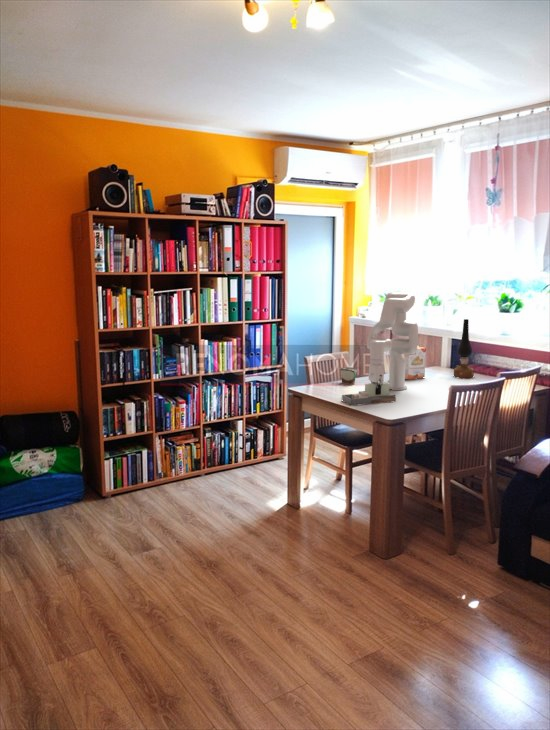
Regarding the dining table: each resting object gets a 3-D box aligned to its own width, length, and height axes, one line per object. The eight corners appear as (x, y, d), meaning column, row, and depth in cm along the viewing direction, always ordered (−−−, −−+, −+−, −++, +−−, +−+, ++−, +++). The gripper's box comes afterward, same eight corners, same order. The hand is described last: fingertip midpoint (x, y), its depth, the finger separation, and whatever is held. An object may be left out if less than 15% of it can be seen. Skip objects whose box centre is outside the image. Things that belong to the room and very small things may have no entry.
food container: (360, 383, 384) (360, 368, 382) (354, 385, 380) (354, 369, 378) (346, 381, 393) (346, 366, 391) (340, 382, 389) (340, 367, 387)
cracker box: (408, 380, 394) (409, 349, 391) (402, 378, 400) (403, 348, 396) (425, 378, 400) (426, 347, 396) (419, 376, 405) (420, 346, 402)
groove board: (363, 399, 341) (363, 393, 340) (386, 397, 345) (386, 391, 345) (371, 403, 330) (372, 397, 330) (395, 401, 335) (395, 395, 334)
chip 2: (358, 398, 336) (358, 391, 335) (364, 397, 337) (364, 390, 336) (361, 399, 332) (361, 392, 331) (368, 399, 333) (368, 392, 332)
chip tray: (342, 400, 337) (342, 394, 337) (362, 399, 341) (362, 393, 340) (351, 405, 326) (351, 399, 325) (371, 403, 330) (371, 397, 329)
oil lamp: (475, 383, 399) (491, 326, 388) (453, 379, 399) (469, 322, 387) (469, 376, 412) (485, 321, 401) (448, 373, 412) (463, 317, 400)
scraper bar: (364, 395, 337) (365, 383, 336) (385, 394, 341) (385, 382, 340) (368, 397, 333) (368, 385, 332) (388, 395, 337) (388, 383, 336)
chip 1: (358, 400, 336) (351, 400, 335) (358, 393, 335) (351, 394, 334) (361, 401, 332) (355, 402, 331) (361, 394, 332) (355, 395, 330)
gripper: (364, 360, 340) (363, 391, 343) (378, 364, 324) (377, 397, 328) (375, 359, 342) (375, 390, 346) (390, 363, 327) (389, 396, 330)
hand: (376, 393), depth 337 cm, fingers closed on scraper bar, 4 cm apart
